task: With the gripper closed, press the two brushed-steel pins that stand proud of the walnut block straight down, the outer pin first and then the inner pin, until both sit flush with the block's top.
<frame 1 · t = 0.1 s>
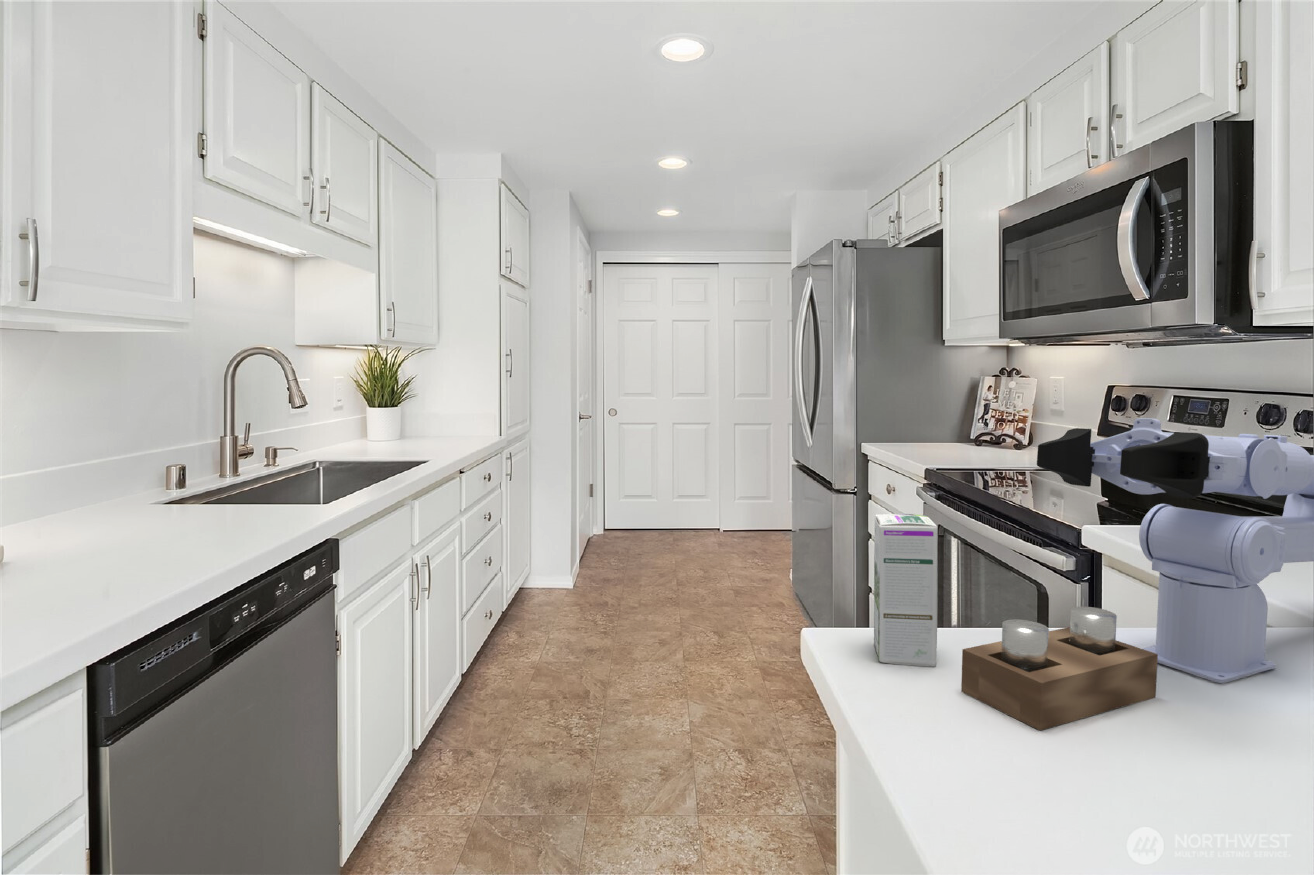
hand: (1080, 458, 61), 22 cm above the counter, tool horizontal, fingers open, 7 cm apart
syrup box: (902, 656, 73), on the counter
outer pin: (1024, 647, 61), point 5 cm above the counter, slide at 3.0 cm
inner pin: (1092, 632, 65), point 5 cm above the counter, slide at 3.0 cm
walnut block: (1057, 694, 63), on the counter
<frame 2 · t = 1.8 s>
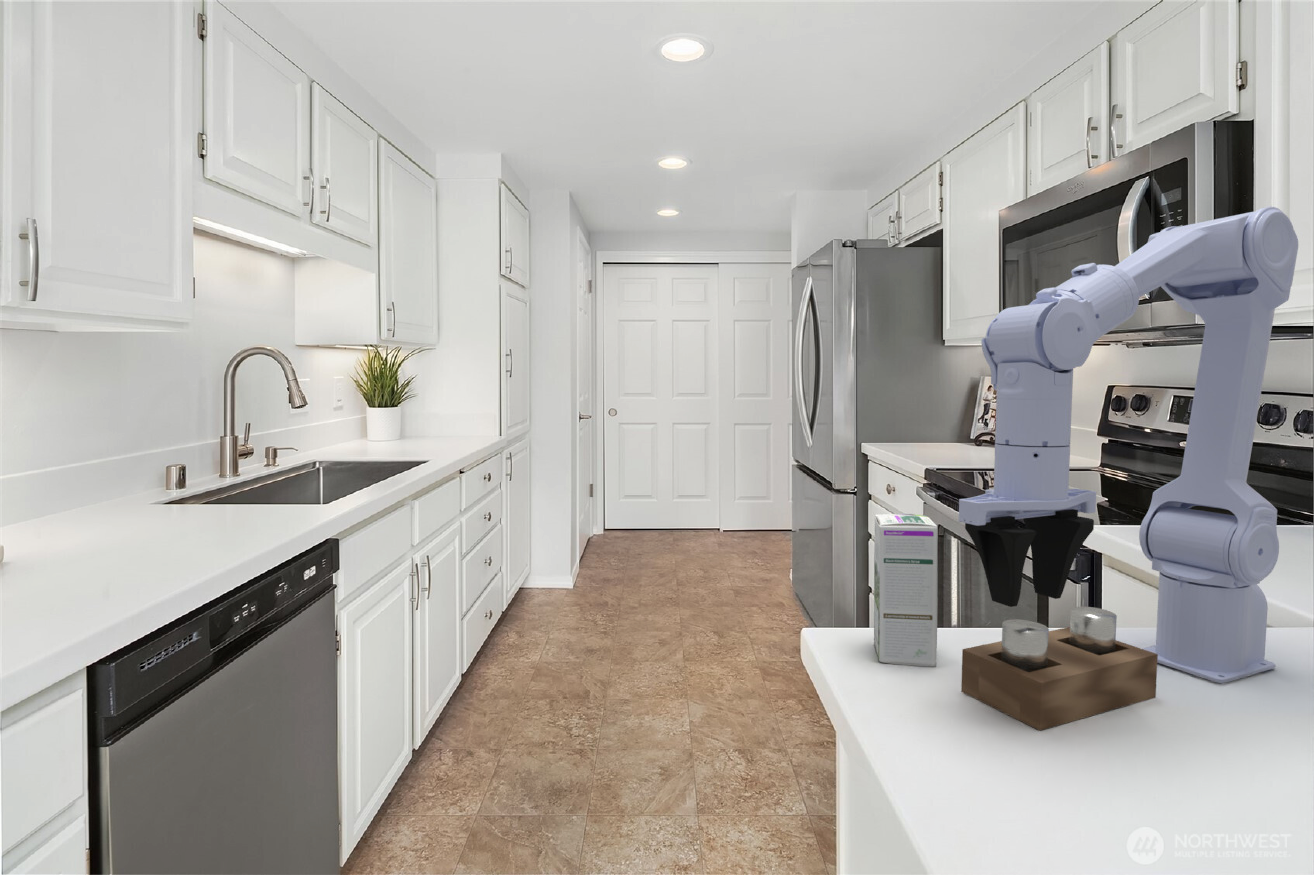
hand: (1026, 599, 61), 9 cm above the counter, tool pointing down, fingers open, 5 cm apart
nothing on the counter moved.
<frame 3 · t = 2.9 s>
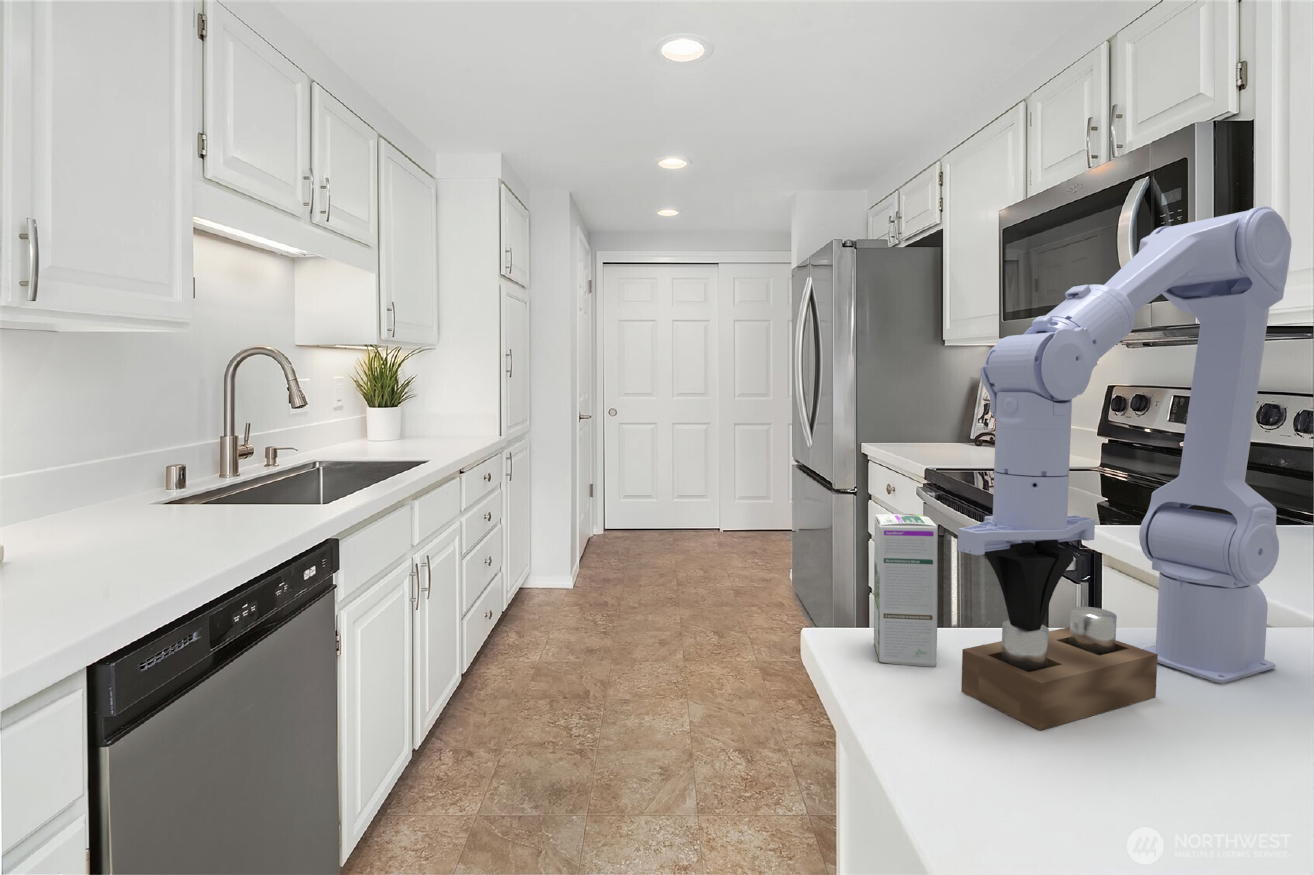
hand: (1025, 627, 61), 7 cm above the counter, tool pointing down, fingers closed, pressing on outer pin
outer pin: (1024, 647, 61), point 5 cm above the counter, slide at 3.0 cm, touching gripper
everything else where it was.
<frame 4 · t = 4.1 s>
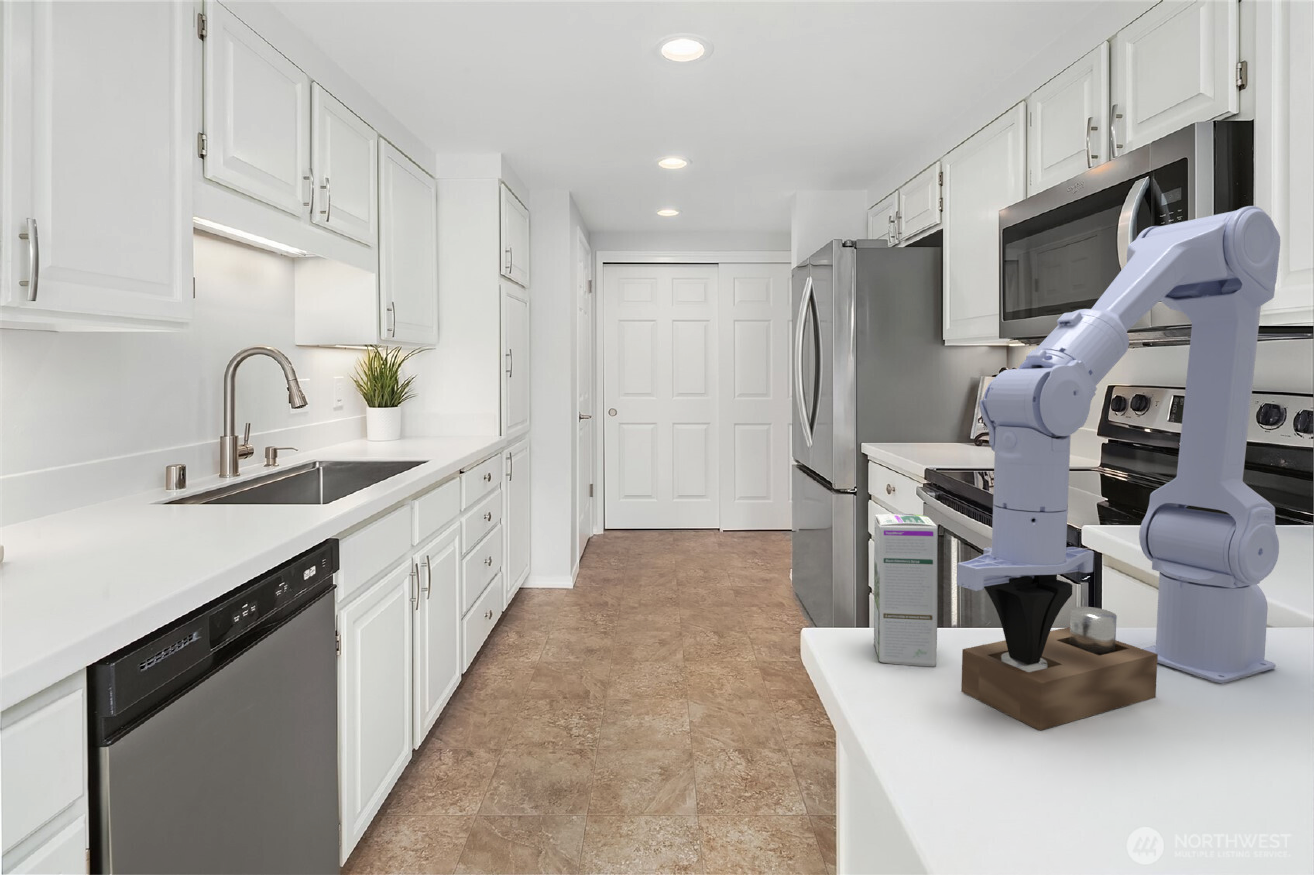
hand: (1024, 659, 61), 4 cm above the counter, tool pointing down, fingers closed
outer pin: (1023, 680, 61), point 2 cm above the counter, slide at 0.0 cm
everything else where it was.
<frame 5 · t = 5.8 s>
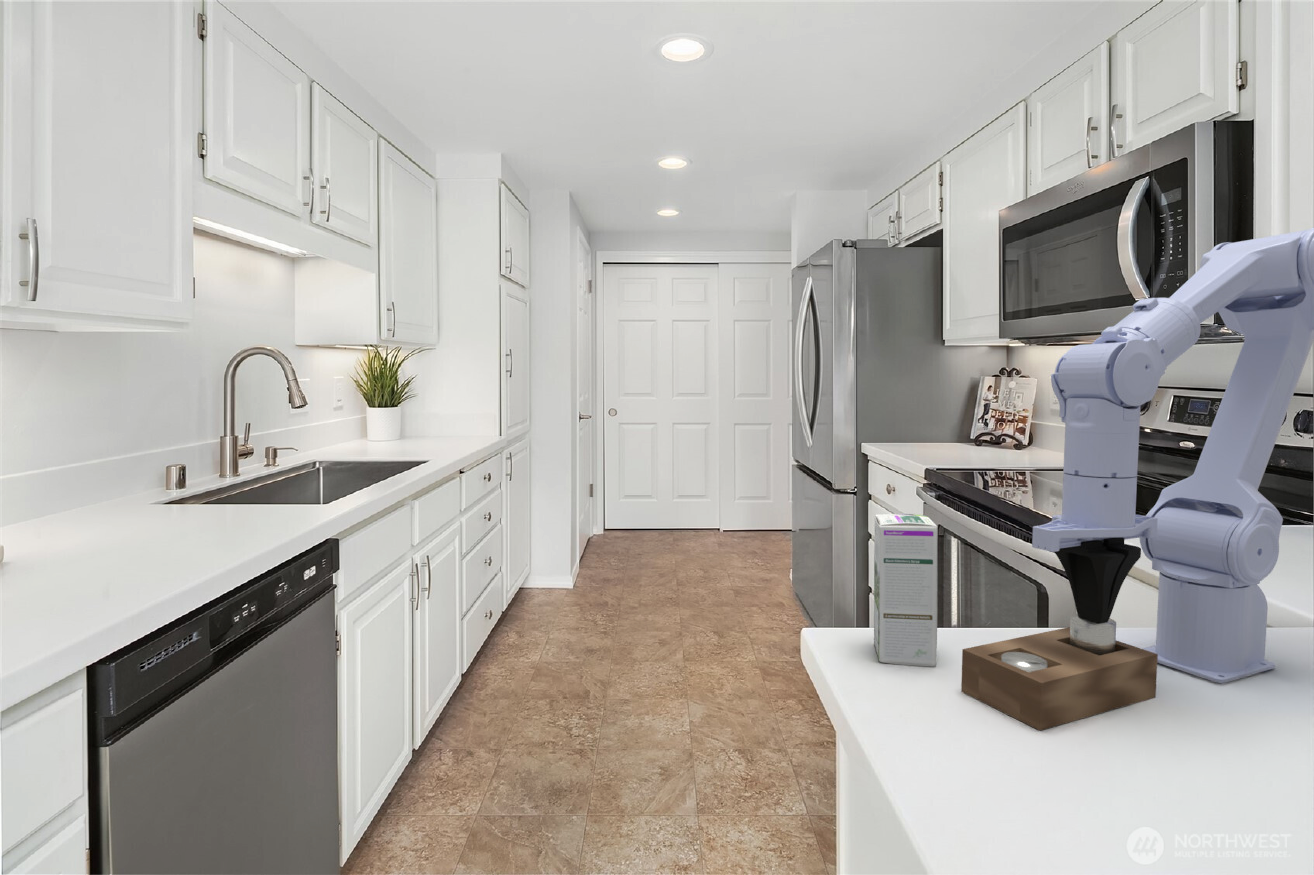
hand: (1092, 619, 65), 6 cm above the counter, tool pointing down, fingers closed, pressing on inner pin
inner pin: (1092, 639, 65), point 4 cm above the counter, slide at 2.3 cm, touching gripper
everything else where it was.
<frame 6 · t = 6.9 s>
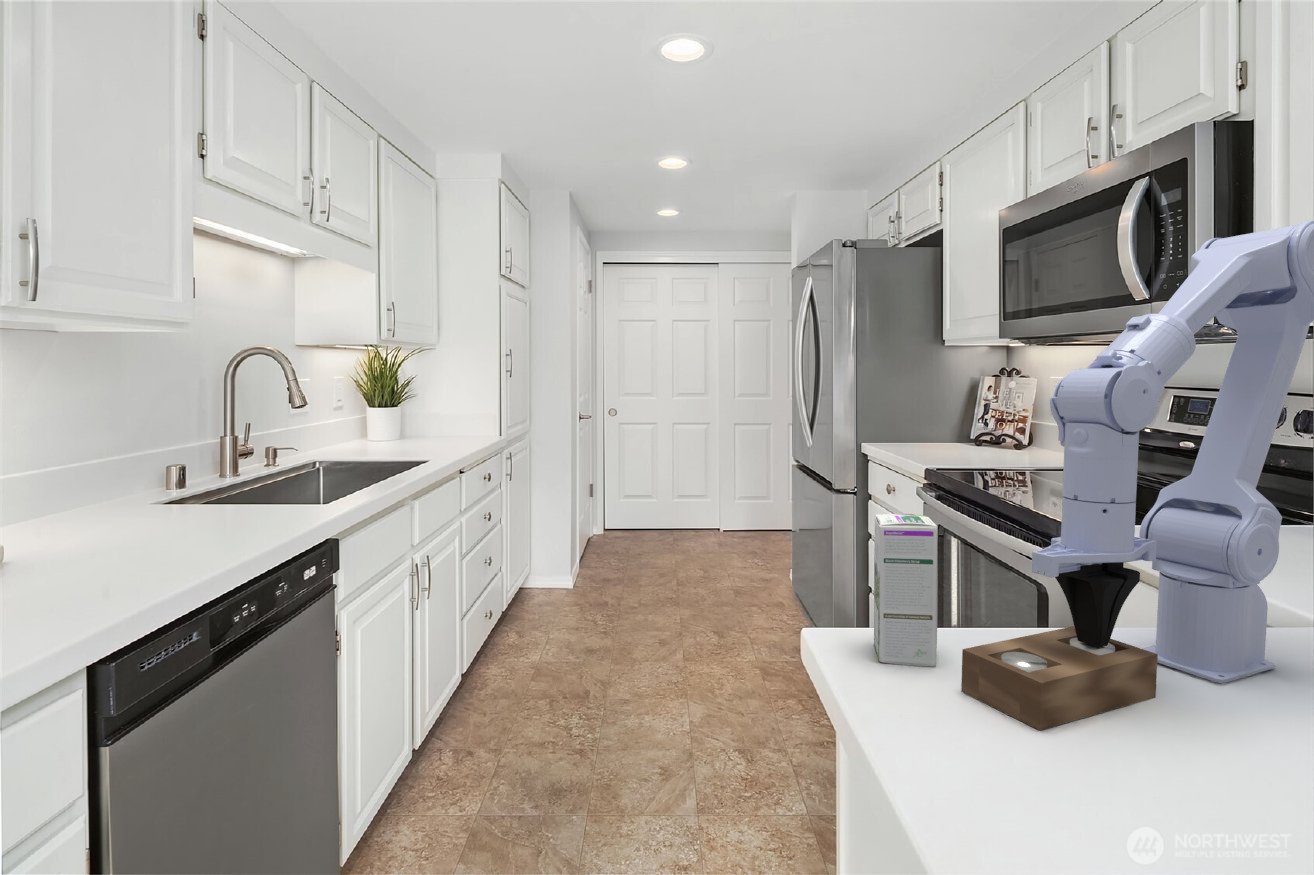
hand: (1092, 643, 65), 4 cm above the counter, tool pointing down, fingers closed
inner pin: (1091, 664, 65), point 2 cm above the counter, slide at 0.0 cm
everything else where it was.
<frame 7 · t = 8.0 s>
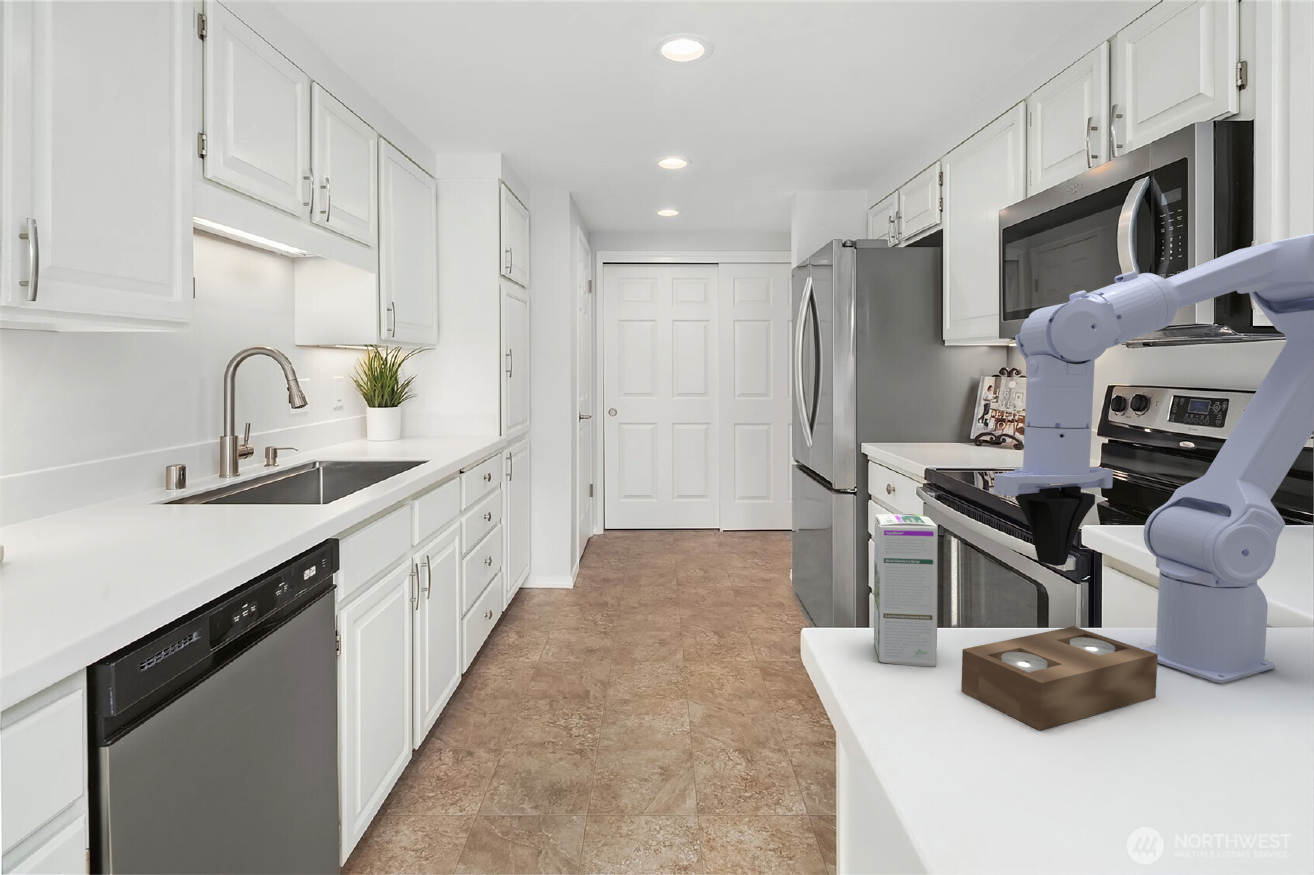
hand: (1051, 563, 69), 10 cm above the counter, tool pointing down, fingers closed
nothing on the counter moved.
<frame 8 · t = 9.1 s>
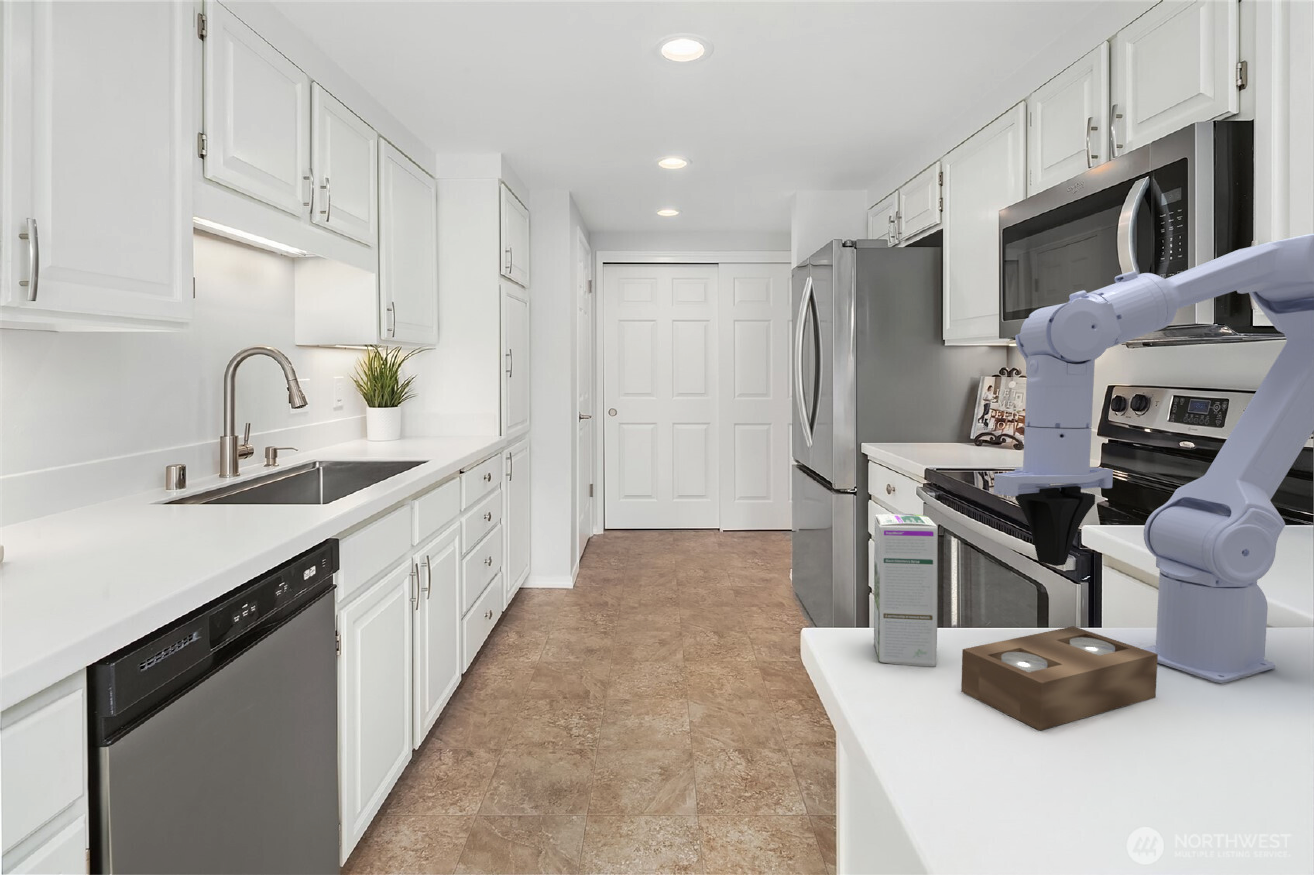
hand: (1051, 563, 69), 10 cm above the counter, tool pointing down, fingers closed
nothing on the counter moved.
at the end: outer pin slide at 0.0 cm; inner pin slide at 0.0 cm; syrup box moved 0.2 cm from its start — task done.
